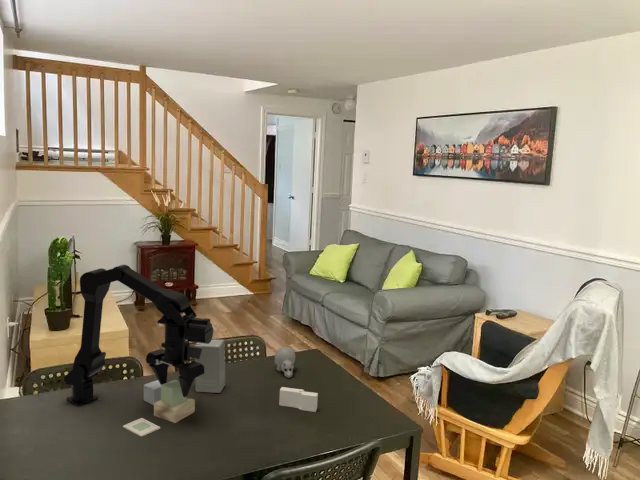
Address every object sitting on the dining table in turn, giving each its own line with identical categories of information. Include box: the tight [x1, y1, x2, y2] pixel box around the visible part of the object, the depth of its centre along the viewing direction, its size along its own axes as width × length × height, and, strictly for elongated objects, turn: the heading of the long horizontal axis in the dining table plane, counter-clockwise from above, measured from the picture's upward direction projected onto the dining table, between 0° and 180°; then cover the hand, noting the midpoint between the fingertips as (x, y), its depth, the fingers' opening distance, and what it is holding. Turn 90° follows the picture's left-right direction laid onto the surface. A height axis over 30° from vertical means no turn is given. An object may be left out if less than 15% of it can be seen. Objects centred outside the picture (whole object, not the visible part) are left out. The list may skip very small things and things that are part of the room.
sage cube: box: [161, 379, 186, 407], centre depth 152 cm, size 5×5×5 cm
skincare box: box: [193, 338, 226, 394], centre depth 169 cm, size 8×7×16 cm
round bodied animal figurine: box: [274, 346, 296, 379], centre depth 186 cm, size 7×12×8 cm, turn 13°
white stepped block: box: [278, 386, 319, 413], centre depth 160 cm, size 15×11×6 cm
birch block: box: [153, 396, 196, 424], centre depth 153 cm, size 8×8×4 cm
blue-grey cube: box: [143, 379, 161, 406], centre depth 161 cm, size 5×5×5 cm
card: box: [122, 417, 161, 437], centre depth 144 cm, size 8×6×1 cm
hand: (174, 392), depth 152 cm, fingers open, 9 cm apart
